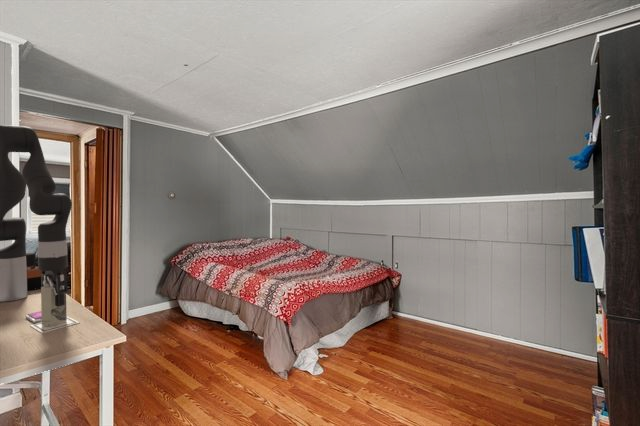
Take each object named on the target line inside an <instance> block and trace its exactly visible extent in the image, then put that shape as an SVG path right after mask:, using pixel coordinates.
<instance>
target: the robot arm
mask: <svg viewBox="0 0 640 426" xmlns="http://www.w3.org/2000/svg"><path fill="white" fill-rule="evenodd" d="M9 153H29V154H30V155H29V157H28V160H27V161H26V163H25V164H24V166H23V167H22V173H21V171H20V170H18V168H17V167H16V165H14V164H13V163H12V161H11V160H10V158H9ZM27 188H28V193H29V209H30V211H31V212H32V213H33V214H35V215H37V216H54V217H53V219H52V220H51V221H46V222H42V223H40V224H39V225H38V226H37V241H38V242H37V267H38V269H39V270H40V271H41V287H44V286H48V285H50V286H51V289H53V290H54V293H55V306H57V307H58V306H62V305H64V293H66V294H67V293H68V292H69V291H68V275H67V273H64V274H63V273H62V270H64V269H67V268H68V266H69V260H68V259H69V258H68V244H67V225H68V224H67V223H68V221H69V217H70V214H71V210H72V207H73V202H72V199H71V198H70V196H69V195H67V194H66V193H54V192H55V191H56V189H57V186H56V183H55V181H54V179H53V177H52V175H51V173H50V171H49V169H48V166H47V163H46V159H45V156H44V152H43V150H42V146H41V141H40V139H39V137H38V134H37V132H36V131H35V129H34V128H32V127H30V126H27V125H26V126H25V125H16V124H15V125H14V124H0V242H6V241H14V242H13V243H12V244H10V245H8V246H6V247H3V248H0V302H2V303H3V302H12V301H19V300H22V299H25V298H27V297H28V291H27V268H26V253H27V251H26V250H27V249H26V248H27V246H26V244H27V242H26V237H27V224H26V221H25V219H24V218H23V217H5V216H6V215H7V213H8V212H9V211H11V210H12V209H13V208H15V207H16V206H17V205H18V204H19V203H21V202H22V201H23V199H24V198H25V196H26V192H27V191H26V190H27ZM60 288H61V290H60Z"/></svg>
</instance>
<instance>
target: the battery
mask: <svg viewBox="0 0 640 426" xmlns="http://www.w3.org/2000/svg"><path fill="white" fill-rule="evenodd" d="M35 290H41V271H40V270H39V269H38V266H36V267H35V268H32V269H31V267H28V268H27V292H29V291H35Z"/></svg>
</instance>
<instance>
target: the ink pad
mask: <svg viewBox="0 0 640 426" xmlns="http://www.w3.org/2000/svg"><path fill="white" fill-rule="evenodd" d="M25 319H26V320H27V319H28V321H30V322H31V323H32V324H38V323H42V312H41V311H36V312H32V313H28V314H27V315H25Z"/></svg>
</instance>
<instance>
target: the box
mask: <svg viewBox="0 0 640 426" xmlns="http://www.w3.org/2000/svg"><path fill="white" fill-rule="evenodd" d="M40 290H41V291H40V299H41V304H40V305H41V312H42V322H41V323H42V326H49V327H53V326H56V325H59V324H61V323H64V322H66V321H67V316H68V315H67V293H64V305H62V306H58V307H57V306H55V293H54V290H53V289H51V286H50V285H48V286H44V287H41V289H40ZM60 290H61V288H60Z"/></svg>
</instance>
